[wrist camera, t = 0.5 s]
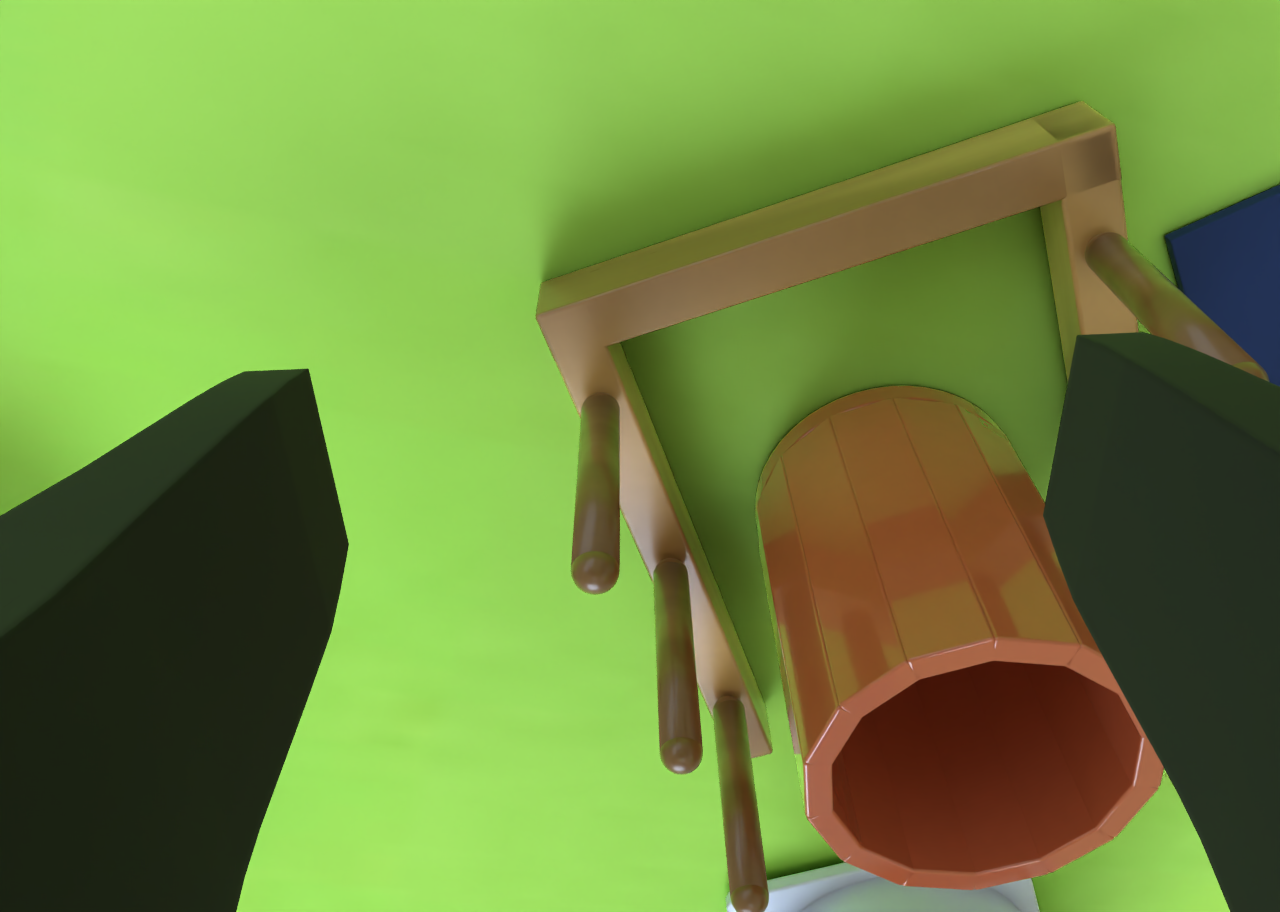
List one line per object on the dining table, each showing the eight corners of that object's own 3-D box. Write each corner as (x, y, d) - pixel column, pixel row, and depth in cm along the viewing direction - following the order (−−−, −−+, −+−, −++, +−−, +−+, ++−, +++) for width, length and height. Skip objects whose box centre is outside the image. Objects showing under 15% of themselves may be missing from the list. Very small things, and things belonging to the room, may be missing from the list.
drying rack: (1148, 608, 25) (1308, 862, 19) (726, 716, 26) (755, 981, 21) (1083, 99, 19) (1288, 247, 13) (539, 282, 20) (507, 485, 15)
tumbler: (1037, 560, 24) (1186, 845, 18) (789, 626, 25) (847, 920, 19) (995, 348, 21) (1155, 596, 15) (719, 432, 22) (757, 698, 16)
